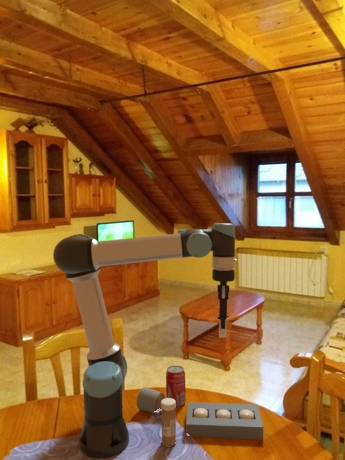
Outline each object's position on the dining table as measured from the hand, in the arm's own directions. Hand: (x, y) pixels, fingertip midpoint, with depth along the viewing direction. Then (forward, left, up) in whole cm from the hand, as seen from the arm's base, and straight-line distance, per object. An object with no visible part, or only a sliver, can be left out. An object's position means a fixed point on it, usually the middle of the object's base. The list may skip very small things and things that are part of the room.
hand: (222, 336), depth 134 cm
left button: (-8, -6, -26) cm, 28 cm away
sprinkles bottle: (-17, -17, -28) cm, 37 cm away
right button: (+7, -6, -26) cm, 28 cm away
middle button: (0, -6, -26) cm, 27 cm away
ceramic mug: (-25, +3, -28) cm, 38 cm away
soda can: (-17, +8, -28) cm, 34 cm away
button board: (0, -6, -28) cm, 29 cm away
